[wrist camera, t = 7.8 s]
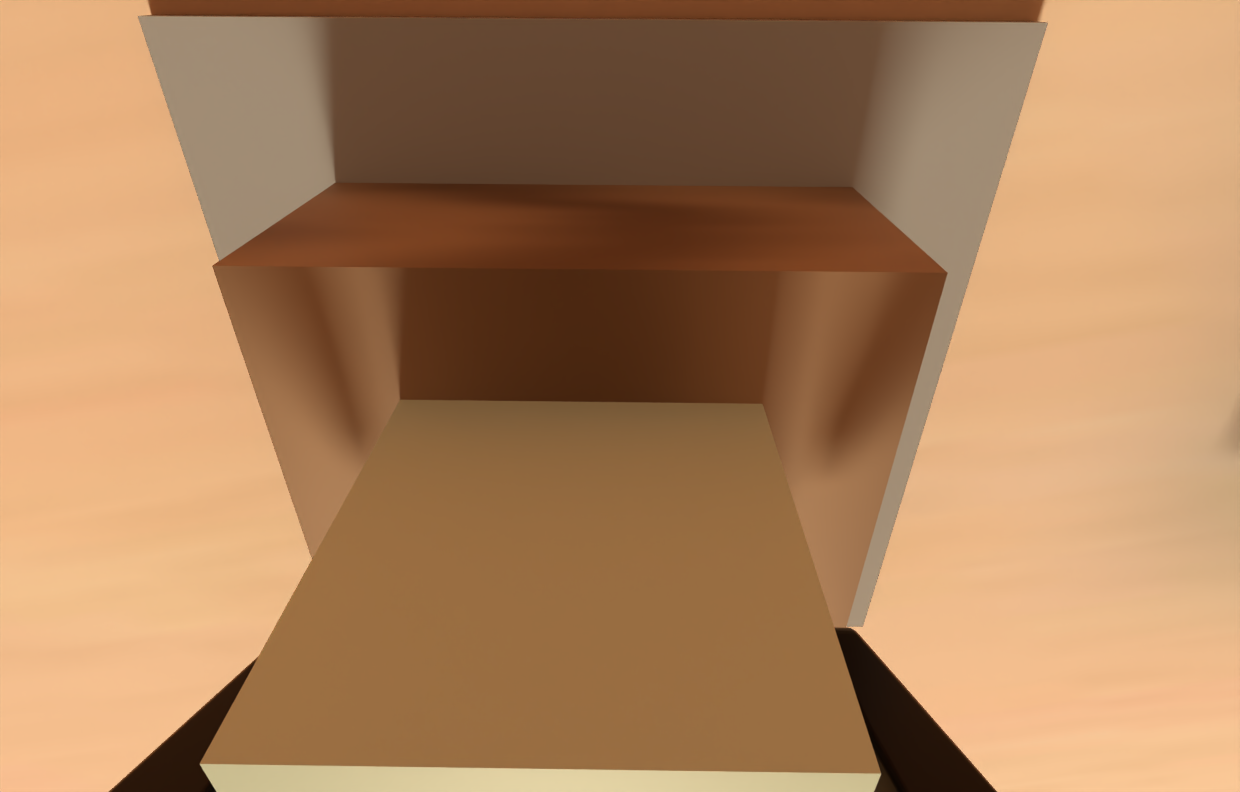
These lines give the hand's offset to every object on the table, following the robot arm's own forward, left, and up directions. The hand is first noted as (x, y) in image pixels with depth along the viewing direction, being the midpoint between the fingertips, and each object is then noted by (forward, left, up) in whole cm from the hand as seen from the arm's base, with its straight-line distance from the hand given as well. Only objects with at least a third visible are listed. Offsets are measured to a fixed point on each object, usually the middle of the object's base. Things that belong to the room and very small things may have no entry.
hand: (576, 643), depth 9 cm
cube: (0, 0, -2) cm, 2 cm away
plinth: (0, 0, -6) cm, 6 cm away
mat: (0, 0, -6) cm, 6 cm away
